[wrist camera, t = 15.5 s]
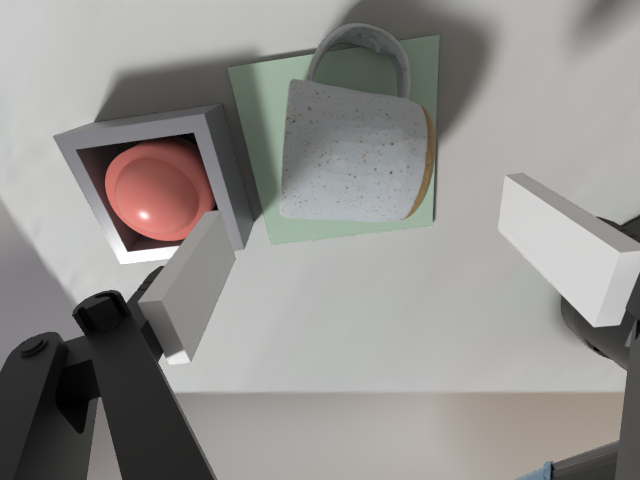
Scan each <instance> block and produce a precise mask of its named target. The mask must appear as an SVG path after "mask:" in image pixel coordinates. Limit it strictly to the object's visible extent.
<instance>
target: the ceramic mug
mask: <svg viewBox="0 0 640 480" xmlns="http://www.w3.org/2000/svg"><path fill="white" fill-rule="evenodd" d="M343 43H351V44H355V45H359V46H363V47H367V48H369V49H372V50H374V51H375V52H376V53H377V54H383V53H385V54H386V55H387V56H388V58H389V59H390V61H391V63H392V64H393V66H394V68H395V72H396V79H397V97H395V96H389V95H383V94H375V93H368V92H362V91H355V90H351V89H347V88H343V87H337V86H330V85H325V84H320V83H315V81H314V76H315V73H316V70H317V68H318V65H319V63H320V61H321V60H322V58H323V56H324V55H325V54H326V53H327V51H328V50H329V49H330V48H331V47H333V46H335V45H336V44H343ZM410 85H411V70H410V66H409V62H408V57H407V55H406V52H405V51H404V49H403V48H402V46H401V45H400V43H399V42H398V41H397V40H396V39H395V38H394V37H393V35H391V34H389V33H388V32H386V31H385V30H383V29H381V28H379V27H377V26H373V25H369V24H364V23H348V24H345V25H342V26H340V27H338V28H336V29H335V30H333V31H332V32H331V33H330V34H329V35H328V36H327V37H326V38H325V39H324V40H323V41H322V42H321V43H320V44H319V46H318V48H317V49H316V51H315V53H314V55H313V57H312V60H311V63H310V66H309V69H308V73H307V77H306V80H304V81H303V80H299V79H292V80H291V81H290V82H289V87H288V96H287V106H286V117H285V130H284V144H283V157H282V176H281V193H280V205H279V208H280V215H281V216H282V217H285V218H296V219H318V220H339V221H362V222H392V221H400V220H404V219H406V218H408V217H410V216H411V215H412V214H414V213H415V212H416V210H417V209H418V208H419V206H420V205H421V203H422V202H423V200H424V198H425V196H426V193H427V191H428V188H429V185H430V182H431V178H432V174H433V169H434V162H435V155H436V133H435V127H434V124H433V120H432V118H431V117H430V115H429V113H428V111H427V110H426V109H425V108H424V107H423V106H421V105H419V104H416V103H414V102H412V101H409V99H408V97H409V93H410Z"/></svg>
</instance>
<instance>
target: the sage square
mask: <svg viewBox="0 0 640 480" xmlns="http://www.w3.org/2000/svg"><path fill="white" fill-rule="evenodd" d="M439 40H440V34H438V35H431V36H425V37H419V38H412V39H406V40H399V41H398V42H399V43H400V45H401V46H402V48H403V49H404V51H405V52H406V55H407V57H408V62H409V66H410V70H411V85H410V93H409V97H408V99H409V101H412V102H414V103H416V104H419V105H421V106H423V107H424V108H425V109H426V110H427V111H428V113H429V115H430V117H431V118H432V120H433V124H434V127H435V133H436V118H437V92H438V66H439ZM313 55H314V54H310V55H303V56H297V57H291V58H284V59H278V60H271V61H265V62H259V63H252V64H246V65H239V66H233V67H227V69H228V73H229V77H230V81H231V85H232V90H233V94H234V98H235V102H236V106H237V110H238V114H239V118H240V122H241V126H242V130H243V134H244V138H245V142H246V146H247V150H248V155H249V159H250V163H251V167H252V171H253V175H254V179H255V183H256V187H257V191H258V195H259V199H260V203H261V207H262V211H263V215H264V219H265V224H266V228H267V232H268V236H269V240H270V244H271V245H277V244H286V243H294V242H302V241H311V240H319V239H327V238H336V237H344V236H352V235H361V234H369V233H378V232H386V231H394V230H403V229H411V228H419V227H428V226H432V222H433V196H434V170H435V162H434V169H433V174H432V178H431V182H430V185H429V188H428V191H427V193H426V196H425V198H424V200H423V202H422V203H421V205H420V206H419V208H418V209H417V210H416V212H415V213H414V214H412V215H411V216H410V217H408V218H406V219H404V220H400V221H392V222H362V221H339V220H318V219H296V218H285V217H282V216H281V215H280V208H279V205H280V193H281V176H282V157H283V144H284V130H285V117H286V106H287V96H288V87H289V82H290V81H291V80H292V79H299V80H303V81H304V80H306V77H307V73H308V69H309V66H310V63H311V60H312V57H313ZM314 81H315V83H320V84H325V85H330V86H337V87H343V88H347V89H351V90H355V91H362V92H368V93H375V94H383V95H389V96H395V97H397V79H396V72H395V68H394V66H393V64H392V63H391V61H390V59H389V58H388V56H387V55H386V54H385V53H383V54H377V53H376V52H375V51H374V50H372V49H369V48H367V47H363V46H361V47H355V48H348V49H342V50H335V51H329V52H327V53H326V54H325V55H324V56H323V58H322V60H321V61H320V63H319V65H318V68H317V70H316V73H315V76H314Z"/></svg>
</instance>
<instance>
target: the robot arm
mask: <svg viewBox="0 0 640 480" xmlns="http://www.w3.org/2000/svg"><path fill="white" fill-rule="evenodd" d="M498 230H499V231H500V232H501V233H502V235H503V236H504V237H505V238H506V239H507V240H508V241H509V242H510V243H511V244H512V245H513V246H514V247H515V248H516V249H517V250H518V251H519V252H520V253H521V254H522V255H523V256H524V257H525V258H526V259H527V260H528V261H529V262H530V263H531V264H532V265H533V266H534V267H535V268H536V269H537V270H538V271H539V272H540V273H541V274H542V275H543V276H544V277H545V278H546V279H547V280H548V281H549V282H550V283H551V284H552V285H553V286H554V287H555V288H556V289H557V290H558V291H559V292H560V293H561V294H562V298H561V311H562V315H563V318H564V320H565V322H566V324H567V325H568V326H569V328H570V329H571V330H572V331H573V332H574V333H575V334H576V335H577V337H578V338H579V339H580V340H581V341H582V342H583V343H584V344H585V345H586V346H587V347H589V348H590V349H591V350H593V351H594V352H596V353H598V354H599V355H601V356H603V357H606V358H609V359H611V360H613V361H614V362H615V363H617V364H618V365H619V366H621V367H622V368H623V369H625V370H626V371H627V379H626V388H625V396H624V405H623V414H622V423H621V431H620V440H618V441H616V442H613V443H610V444H607V445H604V446H602V447H599V448H596V449H593V450H591V451H587V452H584V453H582V454H579V455H576V456H573V457H570V458H567V459H565V460H562V461H559V462H556V463H553V461H549V462H546V463H545V464H544V466H543V468H540V469H538V470H536V471H533V472H531V473H529V474H526V475H524V476H522V477H519V478H517V479H515V480H640V218H639V219H637V220H635V221H633V222H631V223H629V224H627V225H625V226H624V227H622V226H620V225H618V224H617V223H615V222H613V221H610V220H607V219H604V218H601V217H595V216H593V215H592V214H590V213H588V212H587V211H585V210H583V209H582V208H580V207H579V206H577V205H575V204H574V203H572V202H570V201H569V200H567V199H565V198H564V197H562V196H560V195H559V194H557V193H555V192H554V191H552V190H550V189H549V188H547V187H545V186H544V185H542V184H540V183H539V182H537V181H535V180H534V179H532V178H530V177H529V176H527V175H525V174H524V173H519V174H511V175H505V180H504V187H503V194H502V201H501V209H500V216H499V223H498ZM235 259H236V258H235V255H234V251H233V248H232V245H231V242H230V238H229V235H228V232H227V229H226V225H225V222H224V219H223V216H222V212H221V210H218V211H210V212H205V213H204V214H203V216H202V217H201V218H200V220H199V221H198V222H197V224H196V225H195V227H194V228H193V229H192V231H191V232H190V233H189V235H188V236H187V237H186V239H185V240H184V241H183V243H182V244H181V245H180V247H179V248H178V249H177V251H176V252H175V253H174V255H173V256H172V257H171V259H170V260H169V261H168V263H167V264H166V265H165V266H160V267H158V268H157V269H156V270H154V271H153V272H152V273H150V274H149V275H148V277H147V278H146V279H145V280H144V282H143V284H141V285H140V287H139V288H138V289H137V291H136V292H135V293H134V294H133V295H132V297H131V298H130V299H129V301H128V302H127V303H126V302H125V300H124V298H123V297H122V295H121V293H120V292H118V291H115V290H109V291H103V292H100V293H97V294H95V295H93V296H91V297H89V298H87V299H85V300H84V301H82V302H81V303H80V304H78V305H77V307H76V308H75V309H74V310H73V314H72V316H73V317H74V319H75V320H76V322H77V323H78V325H79V326H80V328H81V329H82V331H83V332H84V334H85V336H81V337H78V338H75V339H72V340H68V341H65V342H64V341H63V339H62V338H61V336H60V335H59V334H58V333H56V332H46V333H43V334H39V335H37V336H34V337H31V338H29V339H27V340H26V341H24V342H22V343H21V344H20V345H19V346H18V347H16V348H15V349H14V350H13V351H12V352H11V354H10V355H9V356H8V358H7V359H6V362H5V364H4V366H3V368H2V370H1V372H0V480H86V479H87V473H88V465H89V459H90V451H91V445H92V437H93V430H94V424H95V417H96V410H97V402H98V397H101V398H102V402H103V405H104V409H105V413H106V417H107V421H108V425H109V429H110V433H111V436H112V440H113V445H114V449H115V452H116V456H117V460H118V464H119V468H120V472H121V476H122V480H217V478H216V476H215V474H214V472H213V470H212V468H211V466H210V464H209V462H208V460H207V458H206V456H205V454H204V452H203V450H202V448H201V446H200V444H199V442H198V440H197V438H196V436H195V434H194V432H193V431H192V428H191V427H190V425H189V423H188V421H187V419H186V417H185V415H184V413H183V411H182V409H181V407H180V405H179V403H178V401H177V399H176V397H175V395H174V393H173V391H172V389H171V387H170V385H169V383H168V381H167V379H166V377H165V375H164V373H163V371H162V369H161V367H160V365H159V363H158V361H159V359H160V358H161V356H162V354H163V353H164V355H165V357H166V359H167V361H168V363H169V365H170V364H182V363H191V361H192V359H193V356H194V354H195V352H196V349H197V347H198V345H199V342H200V340H201V338H202V336H203V333H204V331H205V329H206V326H207V324H208V322H209V319H210V317H211V315H212V312H213V310H214V308H215V305H216V303H217V301H218V298H219V296H220V294H221V292H222V289H223V287H224V285H225V282H226V280H227V278H228V275H229V273H230V271H231V268H232V266H233V264H234V261H235Z"/></svg>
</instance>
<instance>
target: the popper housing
mask: <svg viewBox="0 0 640 480" xmlns="http://www.w3.org/2000/svg"><path fill="white" fill-rule="evenodd" d="M187 133H194V134H195V138H196V141H197V144H198V147H199V150H200V153H201V156H202V159H203V163H204V166H205V169H206V172H207V175H208V178H209V181H210V185H211V188H212V191H213V194H214V197H215V200H216V203H217V207H218V210H221V212H222V216H223V219H224V222H225V225H226V229H227V232H228V235H229V238H230V242H231V245H232V248H233V251H235V250H244V249H245V246H246V243H247V241H248V238H249V235H250V232H251V230H252V227H253V224H254V221H253V218H252V214H251V210H250V206H249V202H248V199H247V195H246V191H245V187H244V184H243V180H242V176H241V172H240V169H239V165H238V161H237V157H236V154H235V150H234V146H233V142H232V138H231V135H230V131H229V127H228V123H227V120H226V116H225V112H224V108H223V105H222V103H220V104H213V105H206V106H200V107H193V108H186V109H180V110H173V111H166V112H160V113H153V114H146V115H140V116H133V117H126V118H119V119H113V120H106V121H99V122H93V123H90V124H87V125H84V126H81V127H78V128H75V129H73V130H70V131H67V132H64V133H61V134H58V135H55V136H53V137H54V139H55V141H56V143H57V145H58V147H59V149H60V151H61V152H62V154H63V156H64V158H65V160H66V162H67V164H68V166H69V168H70V169H71V171H72V173H73V175H74V177H75V179H76V181H77V183H78V185H79V186H80V188H81V190H82V192H83V194H84V196H85V198H86V200H87V202H88V203H89V205H90V207H91V209H92V211H93V213H94V215H95V217H96V218H97V220H98V222H99V224H100V226H101V228H102V230H103V232H104V234H105V235H106V237H107V239H108V241H109V243H110V245H111V247H112V249H113V251H114V252H115V254H116V256H117V258H118V260H119V262H120V264H127V263H135V262H143V261H152V260H160V259H168V258H171V257H172V256H173V255H174V253H175V252H176V251H177V249H178V248H179V247H180V245H181V244H182V243H183V241H184V240H185V239H186V238H184V239H181V240H176V241H163V240H157V239H153V238H150V237H147V236H144V235H142V234H140V233H138V232H137V231H135V230H133V229H132V228H131V227H129V226H128V225H127V224H126V223H124V222H123V221H122V220H121V219H120V217H119V216H118V215H117V214H116V212H115V211H114V210H113V208H112V206H111V204H110V202H109V200H108V197H107V194H106V188H105V178H106V173H107V170H108V167H109V166H110V164H111V162H112V161H113V160H114V159H115V158H116V157H117V156H118V155H119V154H121V153H120V151H119V149H118V147H117V144H118V143H125V142H131V141H138V140H145V139H152V138H159V137H166V136H173V135H180V134H187Z"/></svg>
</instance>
